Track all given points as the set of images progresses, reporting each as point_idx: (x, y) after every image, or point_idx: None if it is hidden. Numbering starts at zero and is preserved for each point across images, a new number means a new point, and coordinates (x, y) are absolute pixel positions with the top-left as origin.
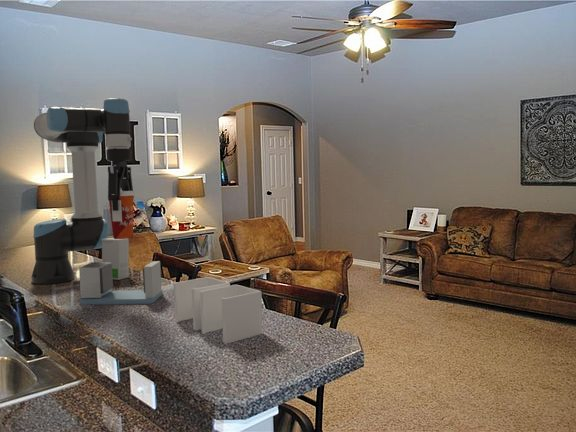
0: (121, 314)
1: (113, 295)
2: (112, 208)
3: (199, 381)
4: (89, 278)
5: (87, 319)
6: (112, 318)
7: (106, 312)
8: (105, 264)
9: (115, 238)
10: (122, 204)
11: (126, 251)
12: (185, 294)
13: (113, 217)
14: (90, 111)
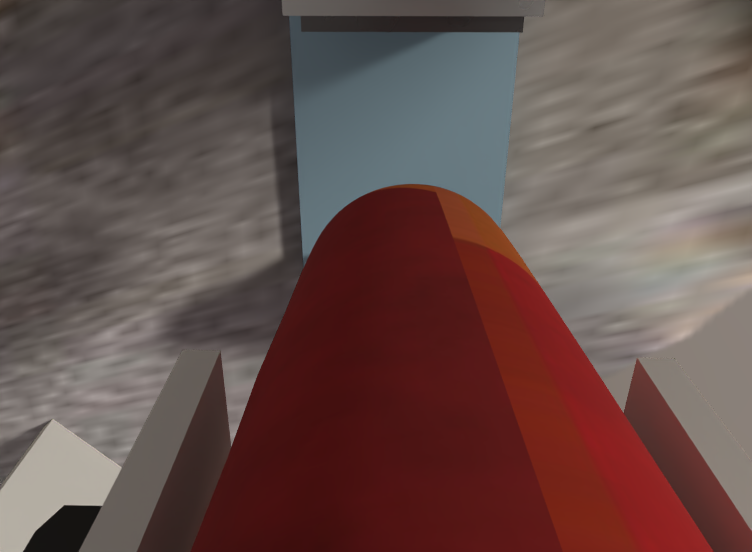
0: (113, 194)
1: (390, 51)
2: (100, 517)
3: None
4: None
5: (4, 57)
6: (45, 175)
7: (137, 107)
8: (420, 16)
9: (323, 229)
10: None
11: None
12: (39, 521)
13: (167, 400)
14: None
